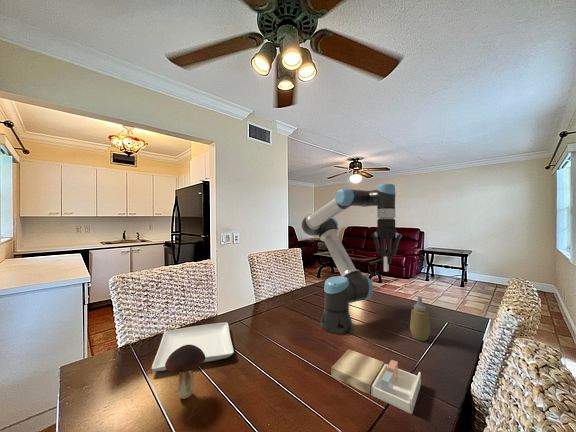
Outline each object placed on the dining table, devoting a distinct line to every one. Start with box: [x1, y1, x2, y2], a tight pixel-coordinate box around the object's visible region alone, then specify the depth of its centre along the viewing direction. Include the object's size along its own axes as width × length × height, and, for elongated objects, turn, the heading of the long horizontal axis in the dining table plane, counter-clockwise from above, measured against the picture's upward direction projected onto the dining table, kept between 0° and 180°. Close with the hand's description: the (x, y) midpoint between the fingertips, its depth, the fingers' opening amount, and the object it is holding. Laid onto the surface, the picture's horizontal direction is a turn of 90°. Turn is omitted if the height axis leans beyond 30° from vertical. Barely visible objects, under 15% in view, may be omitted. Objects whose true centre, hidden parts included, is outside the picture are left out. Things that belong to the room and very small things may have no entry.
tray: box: [370, 363, 422, 415], centre depth 72 cm, size 11×14×4 cm
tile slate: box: [382, 371, 393, 394], centre depth 70 cm, size 5×5×2 cm
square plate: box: [151, 321, 235, 372], centre depth 95 cm, size 27×27×4 cm
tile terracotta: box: [387, 359, 399, 385], centre depth 76 cm, size 5×5×2 cm
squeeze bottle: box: [409, 296, 431, 342], centre depth 103 cm, size 8×8×18 cm
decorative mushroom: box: [165, 345, 205, 400], centre depth 69 cm, size 11×11×15 cm
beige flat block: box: [330, 348, 385, 395], centre depth 80 cm, size 13×14×3 cm
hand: (386, 270), depth 105 cm, fingers closed
